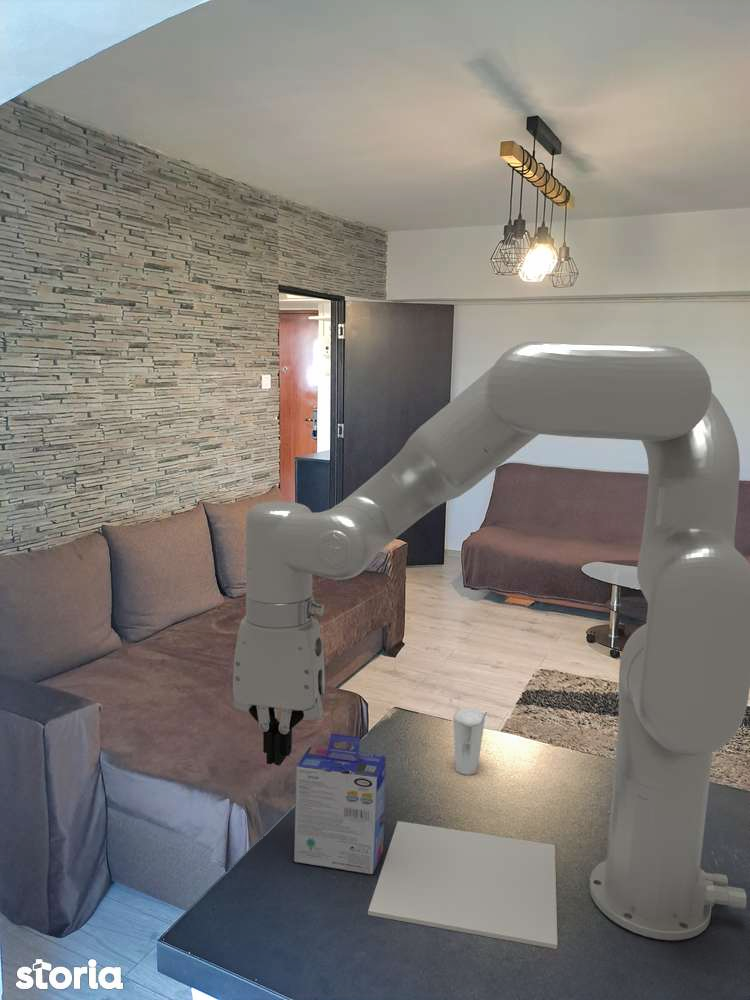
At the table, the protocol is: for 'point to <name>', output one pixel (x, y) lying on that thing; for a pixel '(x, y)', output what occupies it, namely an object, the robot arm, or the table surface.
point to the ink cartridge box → (340, 807)
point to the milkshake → (468, 739)
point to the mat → (469, 884)
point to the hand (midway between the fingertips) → (277, 759)
